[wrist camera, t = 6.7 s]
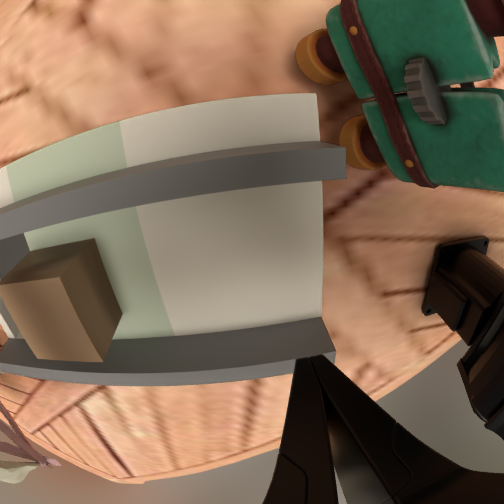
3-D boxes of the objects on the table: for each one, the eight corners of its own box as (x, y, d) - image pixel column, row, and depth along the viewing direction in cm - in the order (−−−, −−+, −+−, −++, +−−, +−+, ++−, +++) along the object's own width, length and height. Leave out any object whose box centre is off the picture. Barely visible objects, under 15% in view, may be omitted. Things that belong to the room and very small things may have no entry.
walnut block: (94, 238, 13) (59, 277, 10) (122, 314, 15) (103, 362, 12) (31, 250, 13) (-5, 285, 9) (61, 317, 15) (37, 358, 12)
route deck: (304, 96, 13) (341, 86, 8) (311, 335, 20) (330, 387, 16) (-34, 190, 12) (-76, 214, 8) (36, 352, 19) (16, 390, 15)
